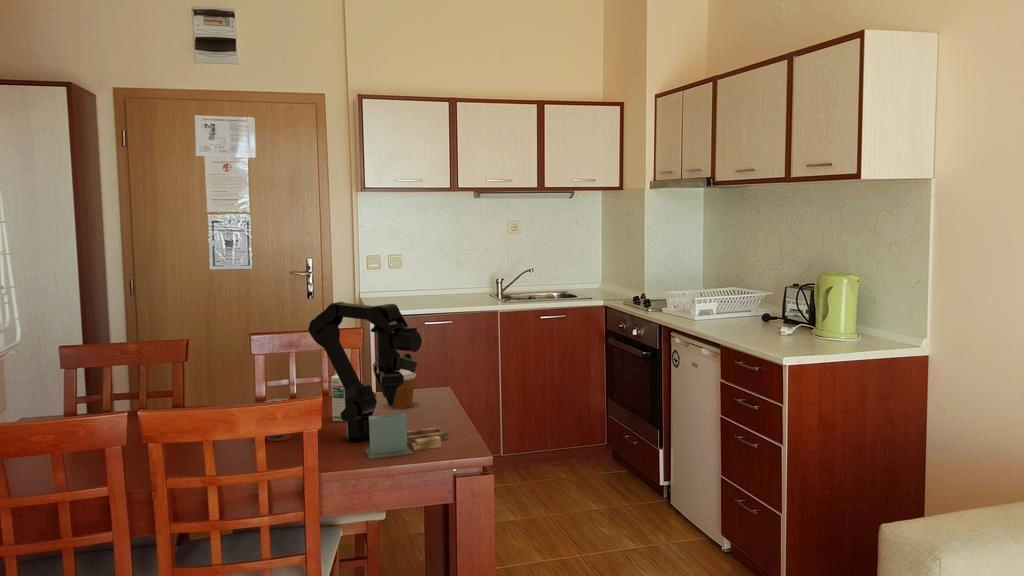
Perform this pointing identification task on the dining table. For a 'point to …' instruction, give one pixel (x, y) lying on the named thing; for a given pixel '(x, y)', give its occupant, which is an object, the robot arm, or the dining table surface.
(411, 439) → the rack
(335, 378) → the syrup box
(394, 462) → the dining table surface
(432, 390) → the dining table surface
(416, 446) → the offcut stack
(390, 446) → the panel
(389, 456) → the mat
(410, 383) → the disposable coffee cup
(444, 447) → the dining table surface
